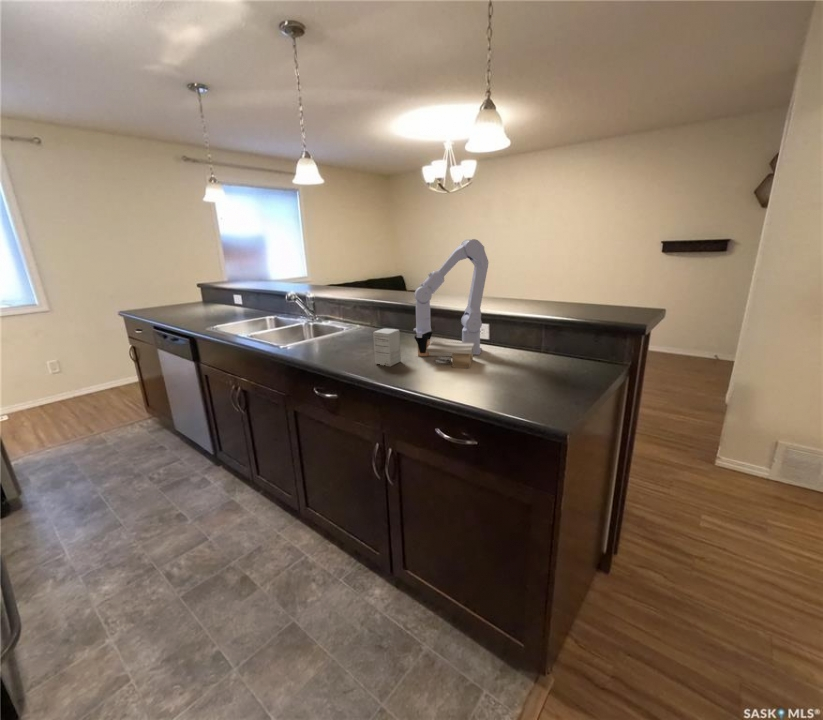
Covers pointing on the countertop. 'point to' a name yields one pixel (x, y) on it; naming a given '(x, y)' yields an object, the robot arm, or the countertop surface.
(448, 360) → the disc
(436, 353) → the blade tool
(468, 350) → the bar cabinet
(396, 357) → the grey drawer cabinet
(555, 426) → the countertop surface
